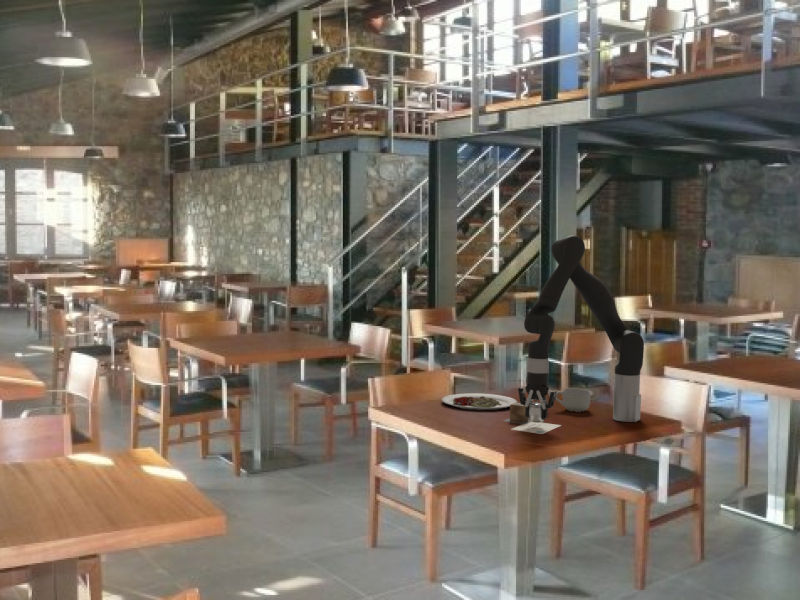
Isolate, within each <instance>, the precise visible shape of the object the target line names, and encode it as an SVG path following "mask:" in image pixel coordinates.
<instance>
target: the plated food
mask: <svg viewBox="0 0 800 600" xmlns="http://www.w3.org/2000/svg"><path fill="white" fill-rule="evenodd" d="M441 402H442V403H444V404H447V405H449V406H453V407H456V408H458V409H465V410H475V411H477V410H478V411H491V410H492V411H495V410H502V409H506V408H508V407H509V408H510V404H513V403H516V402H517V403H518V401H517V399H515V398H512V397H509V396H504V395H500V394H494V393H493V394H491V393H476V392H475V393H457V394H456V393H455V394H449V395H446V396H443V397H442V398H441Z"/></svg>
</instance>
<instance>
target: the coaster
mask: <svg viewBox="0 0 800 600" xmlns="http://www.w3.org/2000/svg"><path fill="white" fill-rule="evenodd" d="M502 422H507V423H514V424H520V425H522V424H525V423H527V422H528V423H529V422H530V421H529V418H528V420H527V421H525V422H515V421H510V417H508V418H506V419H504V420H502Z"/></svg>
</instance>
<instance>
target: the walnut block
mask: <svg viewBox="0 0 800 600" xmlns="http://www.w3.org/2000/svg"><path fill="white" fill-rule="evenodd" d="M525 412H526V407H525V406H524V405H521V404H520V402H518V401H517V402H516V403H513V404H510V407H509V418H510V421H515V422H525V421H527V420H528V419H529V418H527V416H526V415H525Z"/></svg>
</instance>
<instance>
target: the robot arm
mask: <svg viewBox="0 0 800 600" xmlns="http://www.w3.org/2000/svg"><path fill="white" fill-rule="evenodd" d="M585 250H586V245H585V242H584V239H582V238H581V237H580V236H578V235H567V236H565V237H563V238H559V239H556V240H554V242H552V245H551V254H552V257H553V259H554V260H555V262H556V263H557V264H558V266H557V267H556V269H555V270H554V272H552V274H551V275H550V277H549V278H548V279H547V281H546V282H545V284H544V286H543V288H542V290H541V292H540V294H539V297H538V299H537V302H536V303H535V304H534V305H533V306H532V308H531V309H530V311H528V313H527V315H525V318H524V322H523V324H524V325H523V326H524V329H525V331H526V332H527V333H528V334H535V335H539V337H538V339H537V340H535V339H534V340H531V341H529V343H528V348H527V350H528V353H527V354H528V355H527V362H526V365H527V366H526V385H525V387H523V386H522V387H521V386H520V387H519V388H518V389H517V390H518V397H519V403H520V404H521V405H524V406H525V407H526V412H525V415H526V416H527V418H528V419H529V404H530V403H533V401H535V399H537V401H539V403H541V405H542V408H543V409H542V420H544V421H545V420H546V419H547V418H548V415H549V413H548V412H549V409H551V408H553V407H554V405H555V401H556V399H555V397H556V392H557V391H556V390H551V389H550V388H549V373H550V370H549V369H550V367H549V366H550V365H549V363H550V362H549V349H550V344H551V341H552V338H553V337H552V336H553V334H554V330H555V320H554V318H553V317H552V316H551V315H549V314H551V313H555V311H556V309H558V305H559V302H560V300H561V298H562V295H563V292H564V290H565V287H566V286H567V284H568V282H569V280H570V281H571V282H572V283H573V286H575V288H576V289H577V291H578V293H579V295H580V296H581V297H582V298H583V300H584V302H585V303H586V305H587V307H588V308H589V310H591V312H592V314H593V315H594V317H595V319H596V320H597V321H598V322H599V323H600V325H601V326H602V328H603V330H604V331H605V333H606V335H607V337H608V339H609V342H610V344H611V346H613V347H612V348H613V349H614V350H615V351H616V352H617V353H618V354H619V359H618V360H619V361H618V363H617V364H616V365H615V366H614V378H613V379H614V381H613V405H612V406H613V407H612V408H613V409H612V410H613V411H612V412H613V413H612V419H613V420H614V421H618V422H624V423H625V422H628V423H637V422H638V421H640V420H641V413H642V412H641V408H642V395H641V393H640V388H641V387H640V385H641V370H642V367H643V364H644V351H645V343H644V338H643V336H642V335H641V334H639V333H638V332H637V331H636V332H635V331H632V330H630V329H629V328H628V327H627V326H626V324H625V323H624V322H623V321H622V319H621V318H620V316H619V313H618V310H617V306H616V303H615V300H614V298H613V296H612V294H611V292H610V290H609V289H608V288H607V286H606V285H605V283H604V282H603V281H602V280H601V279H600V278H598V277H596V276H595V275H594V274H592V273H591V272H590V271H589V270H587V269H586V268H585V267H584V266H583V265H582V264H581V263H580V262H581V260H582V258H583V256H584V254H585ZM526 393H527V397H526ZM547 395H548V400H547Z"/></svg>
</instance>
